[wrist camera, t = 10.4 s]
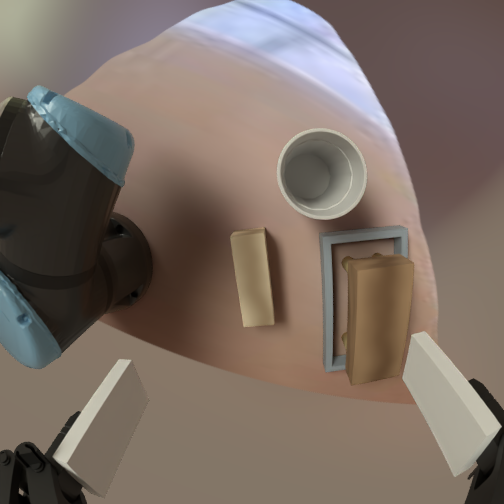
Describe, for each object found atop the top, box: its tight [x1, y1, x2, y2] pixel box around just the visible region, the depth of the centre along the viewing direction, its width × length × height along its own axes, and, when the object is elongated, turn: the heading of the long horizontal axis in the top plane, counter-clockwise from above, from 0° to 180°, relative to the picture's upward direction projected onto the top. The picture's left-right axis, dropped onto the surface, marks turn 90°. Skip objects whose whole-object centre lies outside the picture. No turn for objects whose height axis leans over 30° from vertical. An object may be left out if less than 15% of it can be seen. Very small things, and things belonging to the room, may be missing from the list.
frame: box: [319, 225, 408, 372], centre depth 35 cm, size 12×21×5 cm, turn 7°
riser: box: [230, 227, 274, 327], centre depth 35 cm, size 4×12×4 cm, turn 7°
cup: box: [277, 128, 367, 220], centre depth 28 cm, size 8×8×12 cm
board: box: [345, 254, 414, 386], centre depth 30 cm, size 7×16×4 cm, turn 7°
